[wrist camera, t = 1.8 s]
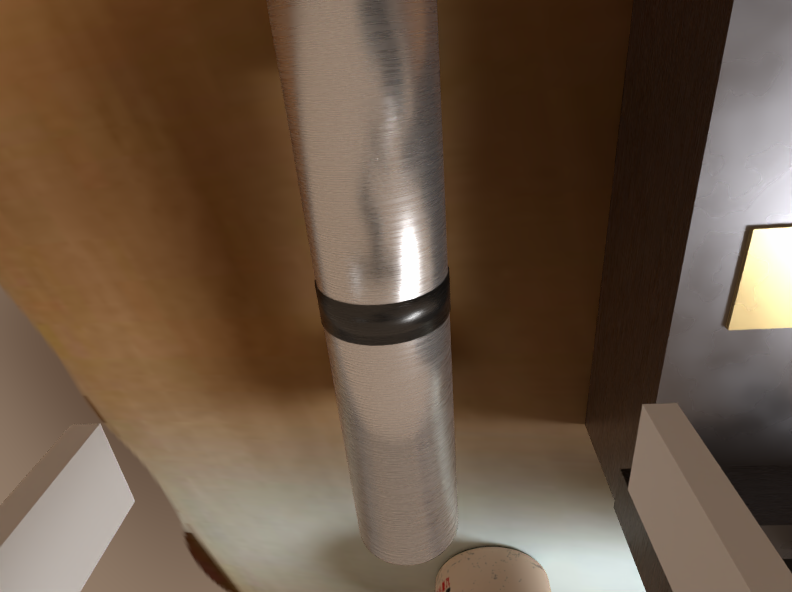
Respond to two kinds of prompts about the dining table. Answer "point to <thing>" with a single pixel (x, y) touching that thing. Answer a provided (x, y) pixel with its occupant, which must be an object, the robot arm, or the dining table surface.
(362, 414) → the tube
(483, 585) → the teacup with lid
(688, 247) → the grey cradle stand
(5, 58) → the dining table surface
